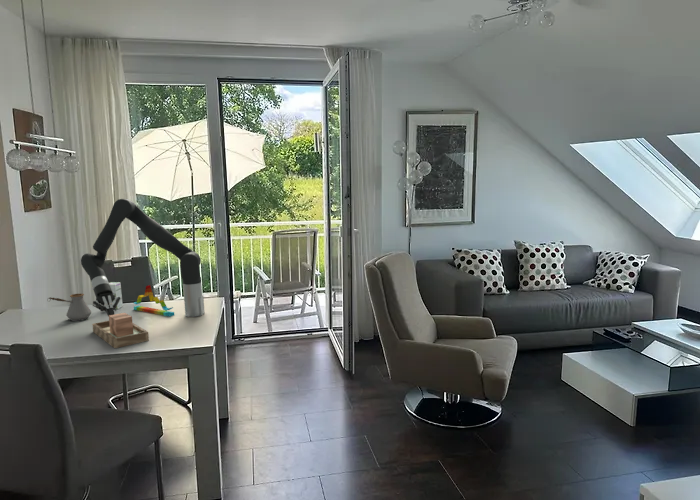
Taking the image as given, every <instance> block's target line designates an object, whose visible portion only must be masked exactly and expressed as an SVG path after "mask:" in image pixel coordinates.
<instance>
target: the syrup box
mask: <svg viewBox="0 0 700 500" xmlns="http://www.w3.org/2000/svg"><path fill="white" fill-rule="evenodd" d="M109 284H110V287H111V290H112V292H113V294H114V295H115V297H120V301H119V303H118V305H117V307H116V309H115V310H118V309H119V310H120V309H121V308H123V307H124V305H123V295H122V285H121V281H120V282H119V281H118V282H117V281H116V282H115V281H110V282H109ZM114 304H115V299H114V300H113V302H112V305H114Z"/></svg>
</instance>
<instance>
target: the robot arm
mask: <svg viewBox="0 0 700 500" xmlns="http://www.w3.org/2000/svg"><path fill="white" fill-rule="evenodd" d="M125 219H127V220H129V221H130V222H132V223H133V224H134V225H136V227H137V228H139V230H140V231H141V232H142V234H144V236H145V237H146V238H147V239H148V240H150V241H151V242H152V243H154V244H155V245H156V246H157V247H159V248H161V249H163V250H165V251H167V252H169V253H171V254H172V255H174V256H175V257H176V258H178V259H179V260H180V265H179V266H180V267H179V268H180V275H181V280H182V289H183V304H184V315H185V317H189V318H190V317H191V318H193V317H195V318H196V317H200V316H203V315H204V314H205V313H206V312H205V303H204V302H205V299H204V297H205V296H204V295H203V289H202V277H201V274H200V265H201V262H202V261H201V257H200V255H199V254H198V253H197V252H196V251H194V250H192V249H191V248H190V247H188V246H187V245H185V244H183V243H182V241H180V240H179V239H178V238H177V237H176V236H175V235H174V234H172V233H171V232H170V231H169V230H168V229H166V228H165V227H164V226H163V225H161V224H160V223H158V222H157V220H154V219H153V218H152V217H150V216H149V215H147V214H146V213H145V212H144V211H143V210H141V208H140V207H139V206H137V204H135V202H133V200H131V199H128V198H119V199H117V200H116V201H114V203H113V206H112V207H111V211H110V214H109V216H108V219H107V220H106V222H105V225H104V226H103V228H102V230H101V231H100V233H99V235H98V237H97V238H96V240H95V242H94V243H93V245H92V249H93V250H94V251H96V254H93V253H89V252H88V253H84V254H83V255H82V256H81V258H80V265H81V266H82V268H83V270H84V272H85V273H86V274H87V275H88V276H89V278H90V282H91V286H92V290H93V292H94V296H95V300H93V301H92V307H94V308H96V309H97V310H100V311H101V312H106V314H107V317H108V318H109V315H115V311H114V310H117V309H116V307H117V305H118V303H119V301H120V297H115V295H114V294H113V292H112V290H111V287H110V284H109V283H110V282H109V280H108V278H107V275H106V273H105V271H104V269H103V266H104V264H105V261H106V259H107V258H106V257H107V253H108V250H110V247H111V246H112V244H113V243H114V240H115V237H116V235H117V233H118V229H119V228H120V226H121V224H123V221H125ZM114 299H115V304H114V305H112V302H113V300H114Z"/></svg>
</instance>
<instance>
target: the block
mask: <svg viewBox="0 0 700 500" xmlns="http://www.w3.org/2000/svg"><path fill="white" fill-rule="evenodd" d="M108 321H109V324H110V333H112V334H113V335H114V336H116V337H122V336H126V335H131V334H133V323H134V322H133V317H132V315H130V314H128V313H126V312H121V313H114V315H109V317H108Z"/></svg>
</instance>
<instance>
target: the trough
mask: <svg viewBox="0 0 700 500" xmlns="http://www.w3.org/2000/svg"><path fill="white" fill-rule="evenodd" d="M132 323H133V328H134V329H136V330H137V331H139V332H140V333H138V334H133V335H129V336H124V337H120V338H115V337H114V336H112V335H111V334H110V324H109V320H105V321H100V322H95V323H91V325H92V332H93V333H94V334H95V335H96V336H98V337H99V338H101V339H102V340H103V341H104V342H106V343H107V344H108V345H110V346H111V347H112V348H114V349H118V348H122V347H128V346H131V345H136V344H139V343H143V342H149V340H150V337H149V331H148V330H146V329H144V328H142V327H140V326H139V325H138V324H135V322H132Z"/></svg>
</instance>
